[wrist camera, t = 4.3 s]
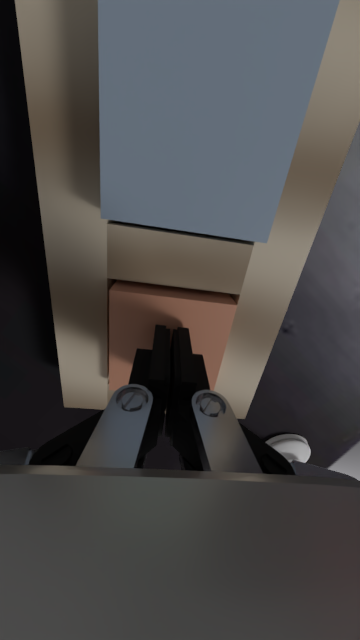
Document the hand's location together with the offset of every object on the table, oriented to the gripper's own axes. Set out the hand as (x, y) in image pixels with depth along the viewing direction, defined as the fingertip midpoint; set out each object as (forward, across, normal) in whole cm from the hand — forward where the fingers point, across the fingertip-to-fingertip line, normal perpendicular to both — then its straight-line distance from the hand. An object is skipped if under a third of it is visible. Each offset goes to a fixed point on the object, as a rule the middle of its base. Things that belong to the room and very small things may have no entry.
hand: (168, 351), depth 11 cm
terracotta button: (+3, 0, 0) cm, 3 cm away
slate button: (+2, 0, -9) cm, 9 cm away
